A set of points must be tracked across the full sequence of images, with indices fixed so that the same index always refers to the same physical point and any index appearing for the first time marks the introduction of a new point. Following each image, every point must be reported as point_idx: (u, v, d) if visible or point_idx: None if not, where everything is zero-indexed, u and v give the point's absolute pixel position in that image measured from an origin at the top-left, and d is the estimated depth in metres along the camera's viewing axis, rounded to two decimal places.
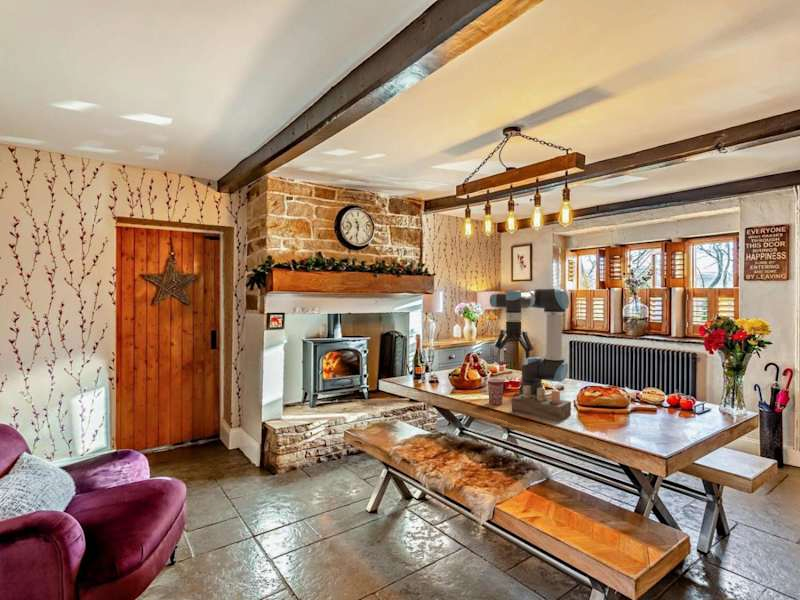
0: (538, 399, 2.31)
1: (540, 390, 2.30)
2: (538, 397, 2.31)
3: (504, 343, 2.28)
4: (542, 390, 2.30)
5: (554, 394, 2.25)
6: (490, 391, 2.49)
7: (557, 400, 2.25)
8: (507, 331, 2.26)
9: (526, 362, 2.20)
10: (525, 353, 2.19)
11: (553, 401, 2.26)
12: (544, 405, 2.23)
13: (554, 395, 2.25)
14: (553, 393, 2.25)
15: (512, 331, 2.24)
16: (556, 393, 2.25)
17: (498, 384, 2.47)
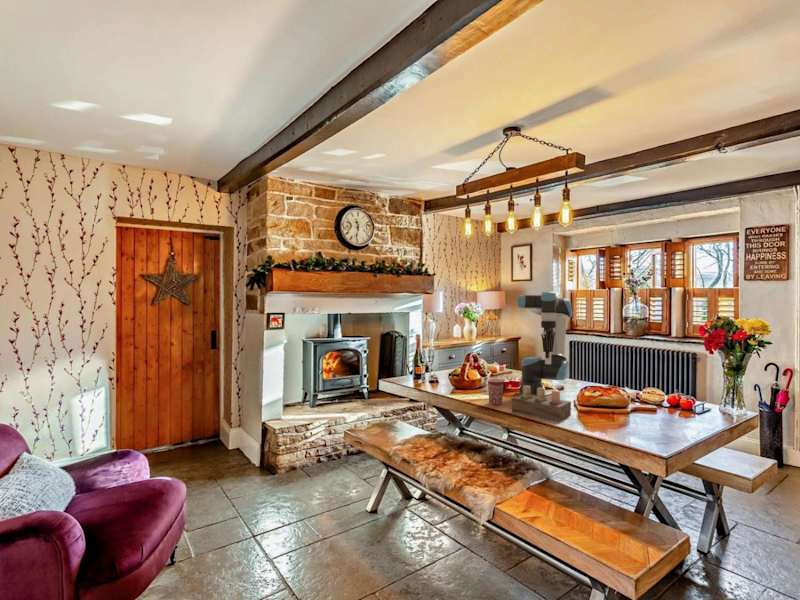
0: (538, 399, 2.31)
1: (540, 390, 2.30)
2: (538, 397, 2.31)
3: None
4: (542, 390, 2.30)
5: (554, 394, 2.25)
6: (490, 391, 2.49)
7: (557, 400, 2.25)
8: None
9: (547, 362, 2.39)
10: None
11: (553, 401, 2.26)
12: (544, 405, 2.23)
13: (554, 395, 2.25)
14: (553, 393, 2.25)
15: None
16: (556, 393, 2.25)
17: (498, 384, 2.47)
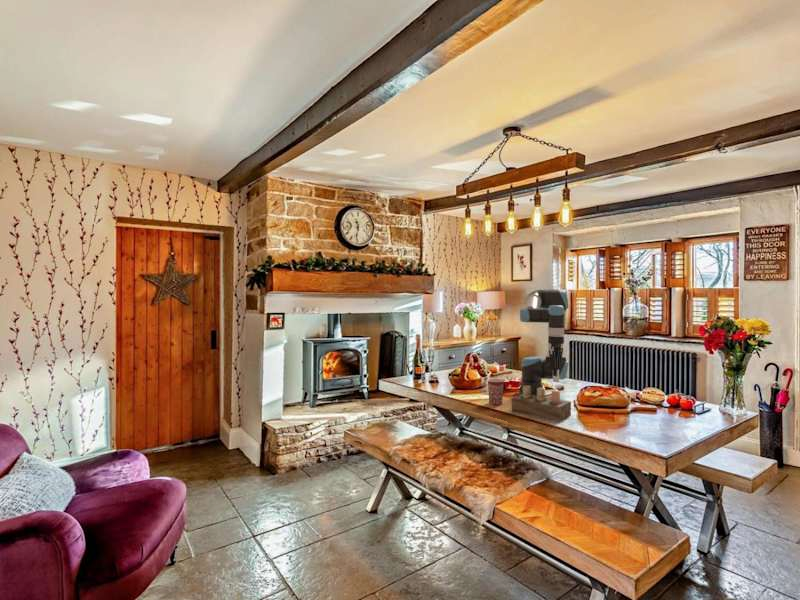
0: (538, 399, 2.31)
1: (540, 390, 2.30)
2: (538, 397, 2.31)
3: None
4: (542, 390, 2.30)
5: (554, 394, 2.25)
6: (490, 391, 2.49)
7: (557, 400, 2.25)
8: None
9: (555, 380, 2.26)
10: (553, 371, 2.26)
11: (553, 401, 2.26)
12: (544, 405, 2.23)
13: (554, 395, 2.25)
14: (553, 393, 2.25)
15: None
16: (556, 393, 2.25)
17: (498, 384, 2.47)
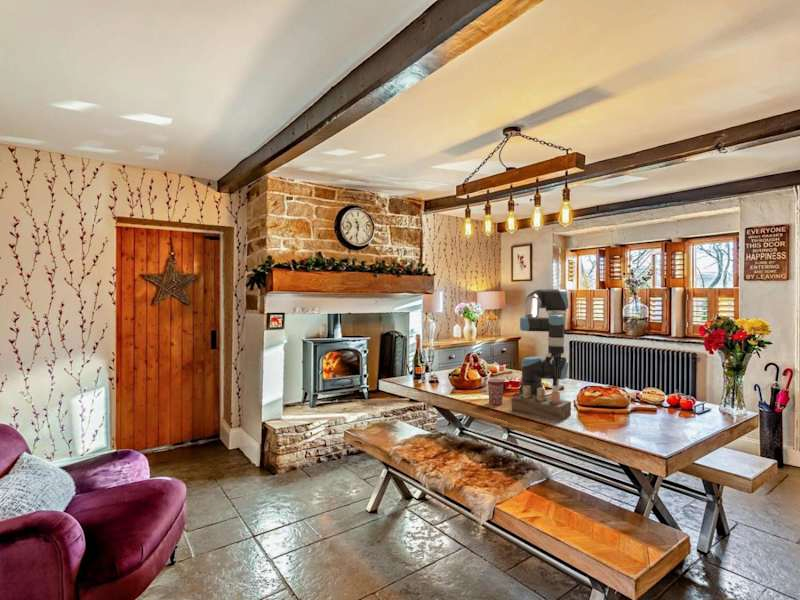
0: (538, 399, 2.31)
1: (540, 390, 2.30)
2: (538, 397, 2.31)
3: None
4: (542, 390, 2.30)
5: (554, 395, 2.25)
6: (490, 391, 2.49)
7: (557, 401, 2.25)
8: None
9: (555, 389, 2.26)
10: (553, 380, 2.26)
11: (553, 402, 2.26)
12: (544, 405, 2.23)
13: (554, 396, 2.25)
14: (553, 394, 2.25)
15: None
16: (556, 394, 2.25)
17: (498, 384, 2.47)
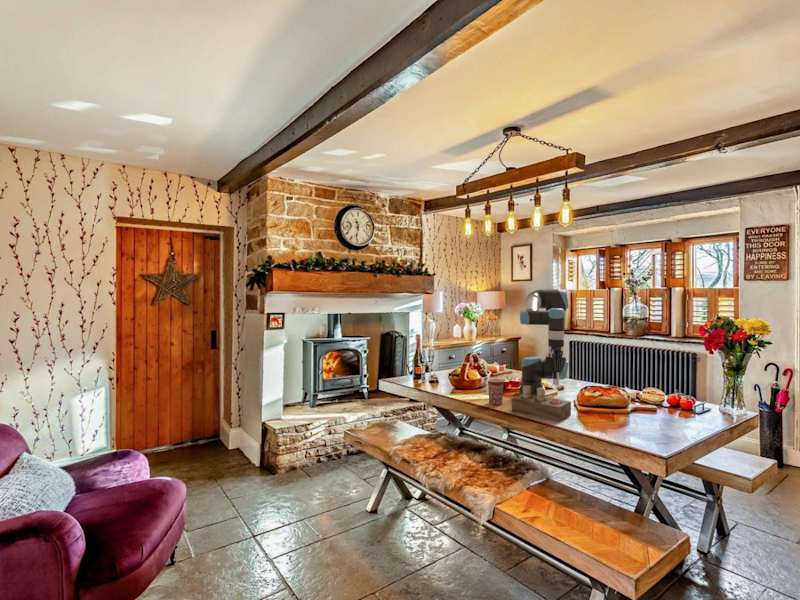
0: (538, 399, 2.31)
1: (540, 390, 2.30)
2: (538, 397, 2.31)
3: None
4: (542, 390, 2.30)
5: (554, 401, 2.25)
6: (490, 391, 2.49)
7: None
8: None
9: (555, 383, 2.26)
10: (553, 373, 2.27)
11: None
12: (544, 405, 2.23)
13: (554, 403, 2.25)
14: (553, 400, 2.26)
15: None
16: (556, 400, 2.25)
17: (498, 384, 2.47)
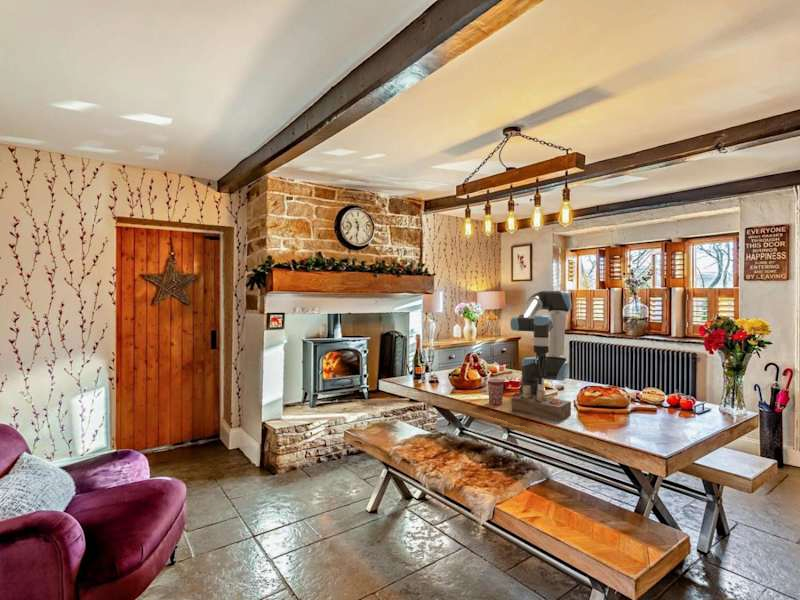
0: None
1: (540, 392, 2.30)
2: (538, 399, 2.31)
3: None
4: (542, 392, 2.30)
5: (554, 401, 2.25)
6: (490, 391, 2.49)
7: None
8: None
9: (540, 388, 2.31)
10: (538, 379, 2.32)
11: None
12: (544, 405, 2.23)
13: (554, 403, 2.25)
14: (553, 400, 2.26)
15: None
16: (556, 400, 2.25)
17: (498, 384, 2.47)
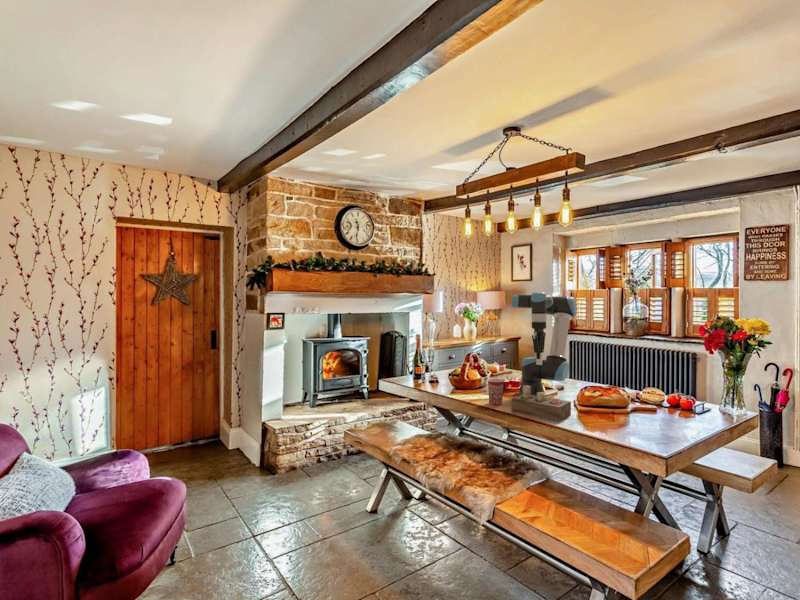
0: None
1: (540, 394, 2.30)
2: None
3: None
4: (542, 394, 2.30)
5: (554, 401, 2.25)
6: (490, 391, 2.49)
7: None
8: None
9: (538, 363, 2.39)
10: None
11: None
12: (544, 405, 2.23)
13: (554, 403, 2.25)
14: (553, 400, 2.26)
15: None
16: (556, 400, 2.25)
17: (498, 384, 2.47)
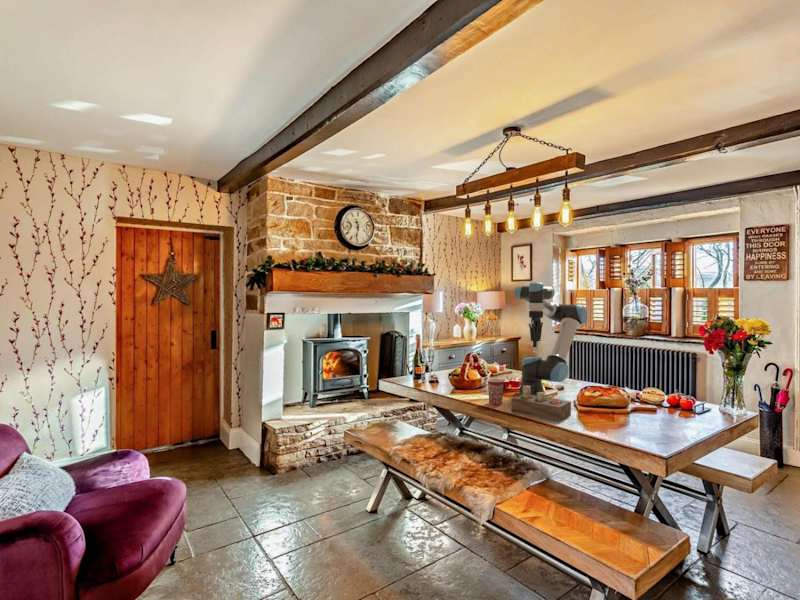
0: None
1: (540, 394, 2.30)
2: None
3: None
4: (542, 394, 2.30)
5: (554, 401, 2.25)
6: (490, 391, 2.49)
7: None
8: None
9: (535, 351, 2.46)
10: None
11: None
12: (544, 405, 2.23)
13: (554, 403, 2.25)
14: (553, 400, 2.26)
15: None
16: (556, 400, 2.25)
17: (498, 384, 2.47)
